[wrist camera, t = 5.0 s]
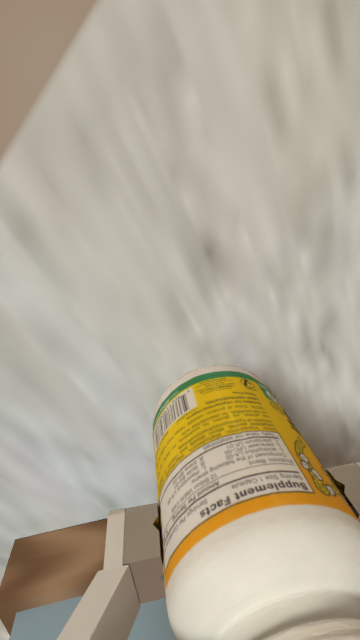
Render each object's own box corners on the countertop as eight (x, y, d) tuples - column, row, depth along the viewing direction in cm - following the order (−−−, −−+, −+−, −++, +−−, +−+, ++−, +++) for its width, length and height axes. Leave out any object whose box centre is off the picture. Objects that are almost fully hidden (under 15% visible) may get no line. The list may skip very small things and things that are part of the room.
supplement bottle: (143, 371, 13) (162, 771, 4) (272, 351, 13) (551, 671, 4) (160, 471, 15) (197, 883, 6) (271, 451, 15) (460, 807, 6)
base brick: (208, 495, 24) (223, 549, 20) (221, 604, 29) (235, 663, 26) (15, 539, 23) (-7, 607, 19) (65, 646, 28) (56, 715, 24)
